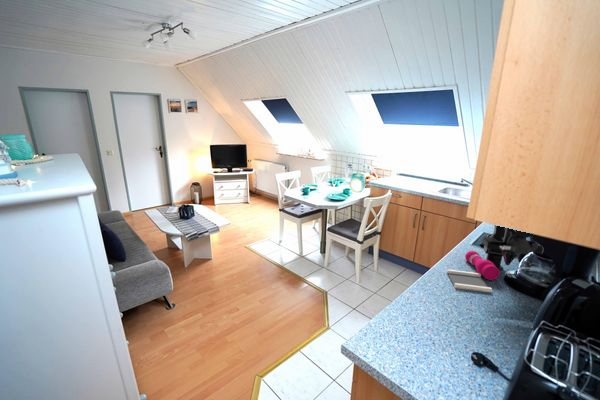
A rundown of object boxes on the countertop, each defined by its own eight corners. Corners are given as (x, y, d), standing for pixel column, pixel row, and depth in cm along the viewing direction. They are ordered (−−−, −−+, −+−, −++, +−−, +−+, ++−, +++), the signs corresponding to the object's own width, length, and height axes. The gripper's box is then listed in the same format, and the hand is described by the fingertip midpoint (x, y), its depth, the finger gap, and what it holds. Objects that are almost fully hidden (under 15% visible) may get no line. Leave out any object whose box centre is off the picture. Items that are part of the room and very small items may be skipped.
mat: (446, 273, 122) (447, 269, 121) (479, 277, 119) (480, 273, 119) (454, 288, 111) (455, 284, 110) (491, 293, 108) (492, 289, 107)
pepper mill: (502, 266, 114) (477, 247, 133) (484, 264, 115) (462, 246, 134) (498, 282, 116) (474, 261, 135) (480, 280, 116) (459, 259, 136)
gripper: (497, 233, 100) (489, 271, 104) (558, 238, 96) (546, 278, 100) (485, 223, 110) (477, 258, 114) (539, 227, 106) (529, 263, 110)
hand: (506, 264), depth 109 cm, fingers closed
